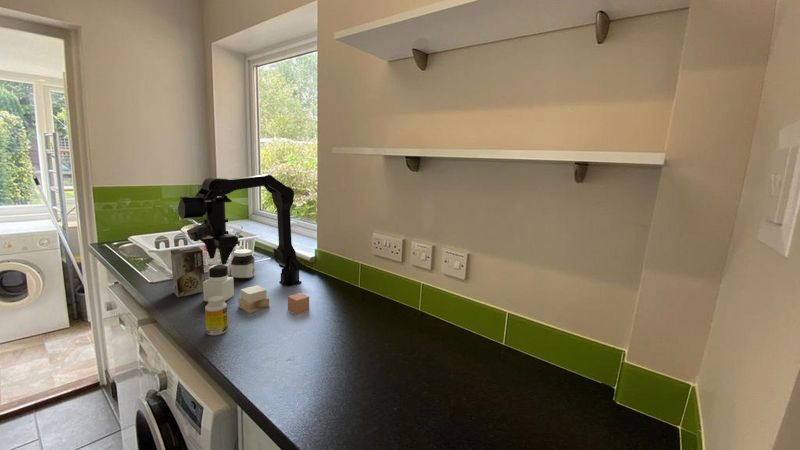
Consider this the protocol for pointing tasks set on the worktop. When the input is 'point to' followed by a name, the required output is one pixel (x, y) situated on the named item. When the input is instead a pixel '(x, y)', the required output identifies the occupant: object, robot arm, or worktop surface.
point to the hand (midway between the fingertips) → (217, 261)
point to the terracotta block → (298, 303)
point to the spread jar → (242, 265)
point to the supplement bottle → (216, 316)
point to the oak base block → (253, 305)
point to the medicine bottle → (218, 283)
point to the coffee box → (187, 271)
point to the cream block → (253, 293)
